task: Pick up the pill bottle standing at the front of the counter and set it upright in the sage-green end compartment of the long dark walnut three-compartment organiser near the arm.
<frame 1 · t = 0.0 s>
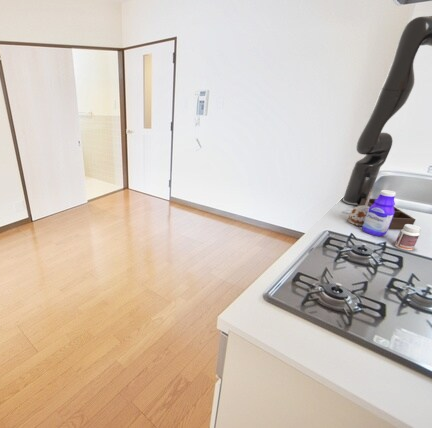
bottle: (372, 233, 110), on the counter
decorative ornament: (359, 223, 118), on the counter
organiser: (382, 218, 121), on the counter
pill bottle: (403, 247, 100), on the counter
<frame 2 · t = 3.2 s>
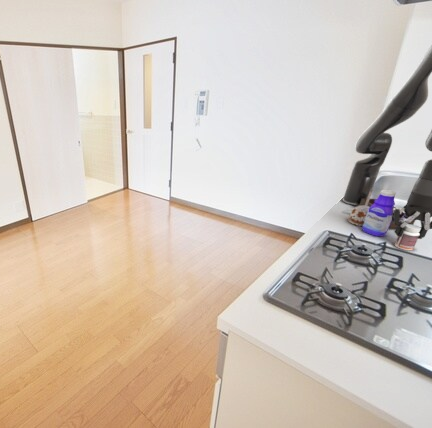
hand: (408, 236, 98), 4 cm above the counter, tool pointing down, fingers closed on pill bottle, 4 cm apart
pill bottle: (403, 247, 100), on the counter, touching gripper
everything else where it was.
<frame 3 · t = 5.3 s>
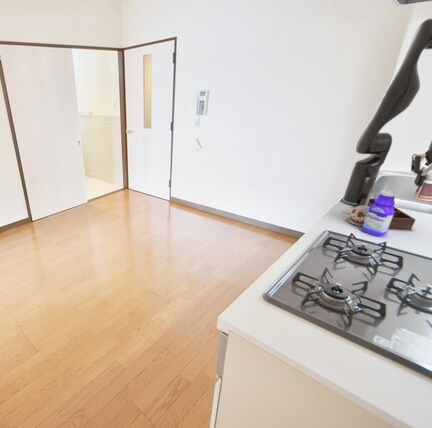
hand: (428, 186, 92), 23 cm above the counter, tool pointing down, fingers closed on pill bottle, 4 cm apart
pill bottle: (423, 199, 94), point 18 cm above the counter, touching gripper
everything else where it was.
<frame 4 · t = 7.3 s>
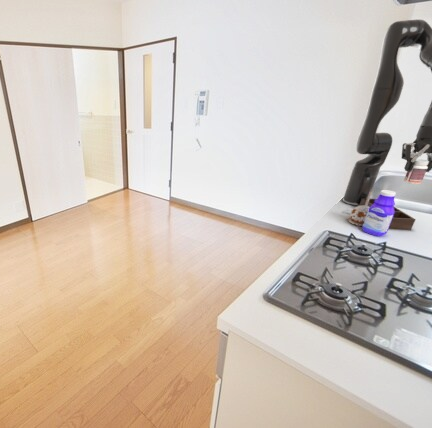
hand: (416, 171, 104), 23 cm above the counter, tool pointing down, fingers closed on pill bottle, 4 cm apart
pill bottle: (411, 182, 106), point 19 cm above the counter, touching gripper
everything else where it was.
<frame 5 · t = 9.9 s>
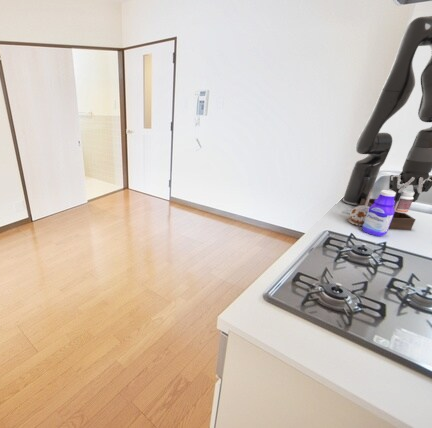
hand: (403, 200, 110), 11 cm above the counter, tool pointing down, fingers closed on pill bottle, 4 cm apart
pill bottle: (399, 211, 112), point 6 cm above the counter, touching gripper
everything else where it was.
when the fingers open (5 cm above the counter, at t = 11.7 s): pill bottle stays where it is, resting on organiser.
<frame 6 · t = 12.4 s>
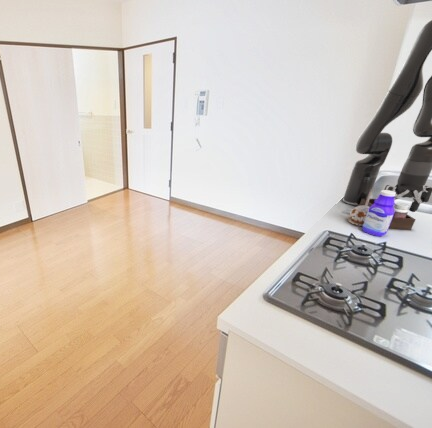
hand: (398, 210, 112), 7 cm above the counter, tool pointing down, fingers open, 8 cm apart
pill bottle: (394, 223, 114), point 1 cm above the counter, touching organiser
everything else where it was.
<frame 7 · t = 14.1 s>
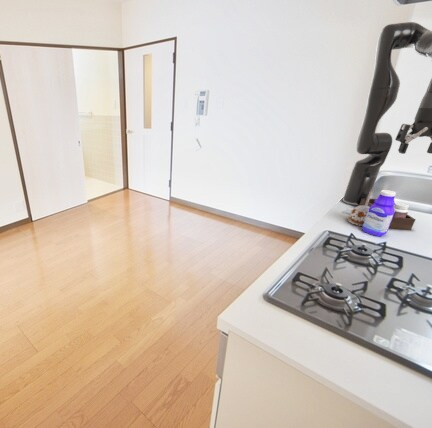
hand: (415, 153, 102), 30 cm above the counter, tool pointing down, fingers open, 8 cm apart
nothing on the counter moved.
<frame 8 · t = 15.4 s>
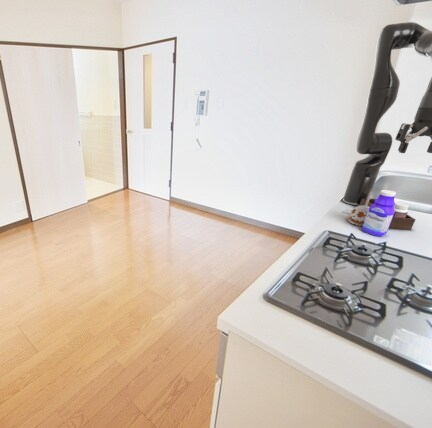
hand: (415, 152, 102), 30 cm above the counter, tool pointing down, fingers open, 8 cm apart
nothing on the counter moved.
at the end: pill bottle 0.1 cm from the target spot in the organiser, point 0.8 cm above the organiser's base; pill bottle tilted 0° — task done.
